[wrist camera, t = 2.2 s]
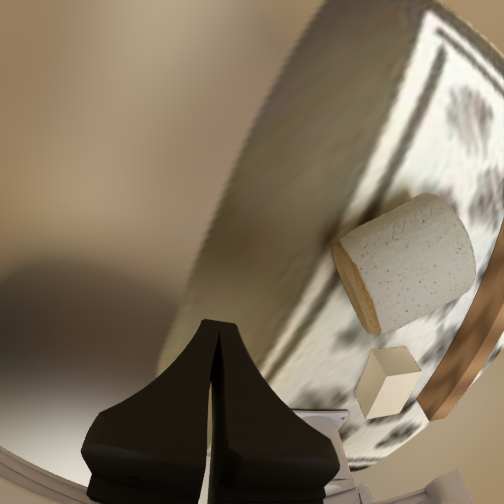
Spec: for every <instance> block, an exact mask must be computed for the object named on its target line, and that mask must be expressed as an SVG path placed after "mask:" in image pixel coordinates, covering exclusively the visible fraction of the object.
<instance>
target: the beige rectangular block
mask: <svg viewBox="0 0 504 504" xmlns="http://www.w3.org/2000/svg"><path fill="white" fill-rule="evenodd" d="M421 373H422V370H421V368H420V367H419V365H418V364H417V362H416V361H415V359H414V358H413V356H412V355H411V354H410V352H409V351H408V349H407V348H406V347H396V348H385V349H372V350H371V352H370V355H369V358H368V360H367V363H366V366H365V368H364V371H363V373H362V376H361V378H360V381H359V383H358V385H357V388H356V390H355V395H356V397H357V400H358V402H359V405H360V407H361V410H362V412H363V415H364V417H365V419H370V418H376V417H382V416H387V415H393V414H398V413H399V412H400V411H401V409H402V407H403V406H404V404H405V402H406V401H407V399H408V397H409V395H410V394H411V392H412V390H413V388H414V386H415V384H416V383H417V381H418V379H419V377H420V375H421Z"/></svg>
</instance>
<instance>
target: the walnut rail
mask: <svg viewBox="0 0 504 504" xmlns="http://www.w3.org/2000/svg"><path fill="white" fill-rule="evenodd" d="M503 331H504V219H503V223H502V226H501V230H500V233H499V236H498V239H497V242H496V245H495V248H494V251H493V254H492V257H491V259H490V262H489V265H488V267H487V270H486V272H485V275H484V277H483V280H482V282H481V285H480V287H479V289H478V292H477V294H476V296H475V298H474V301H473V303H472V305H471V307H470V309H469V311H468V313H467V315H466V317H465V319H464V321H463V323H462V325H461V327H460V329H459V331H458V333H457V335H456V337H455V338H454V340H453V342H452V344H451V346H450V347H449V349H448V351H447V353H446V354H445V356H444V358H443V359H442V361H441V363H440V364H439V366H438V367H437V369H436V371H435V372H434V374H433V375H432V377H431V378H430V380H429V381H428V383H427V384H426V386H425V387H424V389H423V390H422V392H421V393H420V395H419V396H418V397H417V401H418V402H419V404H420V406H421V408H422V409H423V411H424V413H425V415H426V417H427V418H428V420H429V421H433V420H437V419H442V418H445V417H446V416H447V415H448V414H449V413H450V411H451V410H452V409H453V408H454V406H455V405H456V404H457V402H458V401H459V400H460V398H461V397H462V396H463V394H464V393H465V392H466V390H467V389H468V387H469V386H470V385H471V383H472V382H473V380H474V379H475V377H476V376H477V374H478V373H479V371H480V370H481V368H482V367H483V365H484V364H485V362H486V360H487V359H488V357H489V355H490V354H491V352H492V350H493V349H494V347H495V345H496V343H497V342H498V340H499V338H500V336H501V334H502V333H503Z"/></svg>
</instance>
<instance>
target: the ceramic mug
mask: <svg viewBox="0 0 504 504" xmlns="http://www.w3.org/2000/svg"><path fill="white" fill-rule="evenodd" d="M332 256H333V259H334V262H335V265H336V268H337V270H338V273H339V275H340V278H341V280H342V283H343V285H344V288H345V290H346V292H347V294H348V297H349V299H350V301H351V304H352V306H353V308H354V310H355V312H356V314H357V316H358V318H359V320H360V322H361V324H362V326H363V327H364V329H365V330H366V331H367V332H368V333H371V334H373V335H377V334H383V333H386V332H389V331H393V330H395V329H398V328H401V327H403V326H405V325H407V324H408V323H410V322H412V321H414V320H416V319H418V318H419V317H421V316H423V315H425V314H427V313H429V312H431V311H433V310H435V309H437V308H439V307H441V306H443V305H445V304H447V303H448V302H450V301H452V300H454V299H456V298H458V297H460V296H461V295H463V294H465V293H466V292H467V291H469V290H470V288H471V287H472V285H473V283H474V280H475V275H476V263H475V256H474V251H473V247H472V244H471V241H470V238H469V235H468V232H467V230H466V229H465V226H464V225H463V223H462V221H461V220H460V219H459V217H458V216H457V214H456V213H455V211H454V210H453V209H452V207H450V206H449V205H448V204H447V203H446V202H445V201H444V200H442V199H441V198H440V197H438V196H436V195H435V194H431V193H423V194H420V195H418V196H416V197H415V198H413V199H411V200H409V201H407V202H405V203H403V204H401V205H399V206H397V207H396V208H394V209H392V210H390V211H388V212H386V213H384V214H383V215H381V216H379V217H377V218H375V219H373V220H371V221H369V222H367V223H365V224H363V225H361V226H358V227H357V228H355V229H353V230H352V231H350V232H348V233H347V234H346V235H345V236H343V237H342V238H340V239H339V240H338V241H337V242H336V243H335V244H334V246H333V250H332Z"/></svg>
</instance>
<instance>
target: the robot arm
mask: <svg viewBox="0 0 504 504" xmlns="http://www.w3.org/2000/svg"><path fill="white" fill-rule="evenodd" d="M210 384H211V388H212V446H211V460H210V474H209V488H208V502H207V504H475V503H474V501H473V499H472V497H471V495H470V493H469V490H468V488H467V486H466V484H465V482H464V480H463V478H462V476H461V474H460V472H459V470H455V471H452V472H450V473H447V474H445V475H442V476H440V477H438V478H436V479H434V480H433V481H432V482H430V483H429V484H428V485H427V486H426V487H425V488H423V489H420V490H417V491H414V492H411V493H407V494H404V495H401V496H397V497H394V498H390V499H386V500H383V501H378V502H374V500H373V497H372V494H371V491H370V488H369V486H367V485H364V484H362V483H360V484H357V488H358V491H359V493H358V494H359V497H358V494H357V491H356V487H355V483H354V480H353V478H352V476H351V473H350V469H349V466H348V463H347V459H346V456H345V452H344V449H343V446H342V442H341V439H340V436H339V432H338V430H339V429H340V427H341V426H342V425H343V423H344V422H345V420H346V419H347V417H348V416H349V412H348V411H293V410H291V409H290V408H289V407H288V406H287V405H286V404H285V403H284V402H283V401H282V400H281V399H280V398H279V397H278V396H277V395H276V393H275V392H274V391H273V390H272V389H271V387H270V386H269V385H268V384H267V382H266V381H265V379H264V378H263V377H262V375H261V374H260V372H259V370H258V369H257V367H256V366H255V364H254V362H253V361H252V359H251V357H250V355H249V353H248V351H247V349H246V347H245V345H244V343H243V340H242V338H241V336H240V333H239V330H238V327H237V325H236V324H235V323H228V322H221V321H215V320H208V319H204V320H202V321H201V324H200V326H199V328H198V330H197V332H196V333H195V335H194V337H193V338H192V340H191V341H190V342H189V344H188V345H187V346H186V348H185V349H184V350H183V352H182V353H181V354H180V355H179V356H178V357H177V359H176V360H175V361H174V362H173V363H172V364H171V365H170V366H169V367H168V368H167V369H166V370H165V371H164V372H163V373H162V374H161V375H160V376H158V377H157V378H156V379H155V380H154V381H152V382H151V383H150V384H149V385H147V386H146V387H145V388H143V389H142V390H140V391H139V392H137V393H136V394H134V395H132V396H131V397H129V398H128V399H126V400H124V401H122V402H121V403H119V404H117V405H115V406H112V407H110V408H108V409H106V410H104V411H102V412H100V413H99V414H98V416H97V417H96V419H95V420H94V422H93V423H92V425H91V427H90V428H89V430H88V432H87V435H86V437H85V440H84V443H83V446H82V448H81V454H82V457H83V459H84V461H85V462H86V464H87V466H88V468H89V469H90V471H91V473H92V475H91V479H90V482H89V485H88V487H86V486H83V485H80V484H77V483H75V482H72V481H70V480H67V479H65V478H62V477H60V476H58V475H55V474H53V473H51V472H49V471H46V470H44V469H42V468H40V467H38V466H36V465H34V464H32V463H30V462H28V461H26V460H24V459H22V458H20V457H18V456H17V455H15V454H13V453H11V452H10V451H8V450H6V449H5V448H3V447H1V446H0V504H198V501H199V498H200V493H201V488H202V483H203V478H204V473H205V468H206V456H207V420H208V399H209V389H210ZM359 498H360V501H361V502H360V501H359Z"/></svg>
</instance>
